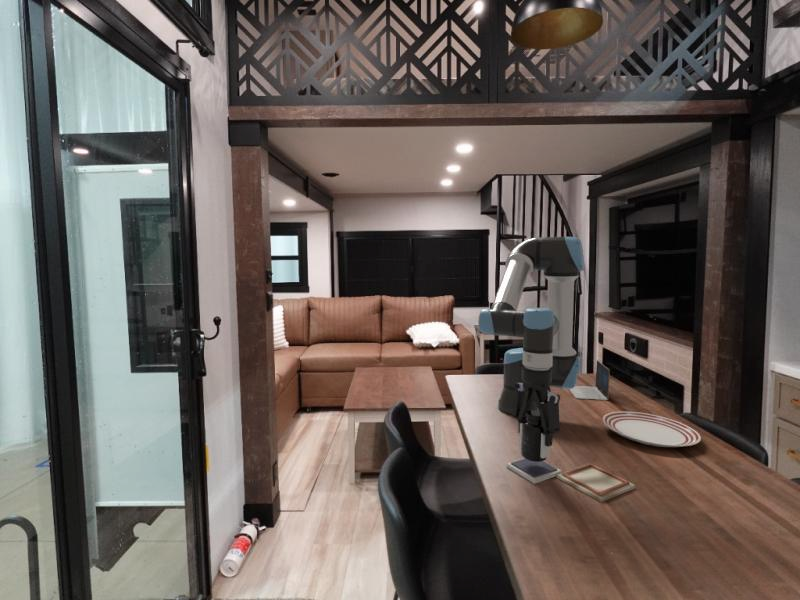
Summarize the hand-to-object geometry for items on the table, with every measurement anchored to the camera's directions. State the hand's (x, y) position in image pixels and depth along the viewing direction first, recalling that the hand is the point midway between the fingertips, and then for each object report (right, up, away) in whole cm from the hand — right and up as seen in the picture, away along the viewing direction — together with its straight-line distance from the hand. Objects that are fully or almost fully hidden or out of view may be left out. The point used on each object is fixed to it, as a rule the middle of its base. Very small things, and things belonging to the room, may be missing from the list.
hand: (534, 451), depth 113 cm
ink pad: (0, -5, +1) cm, 6 cm away
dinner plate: (+45, -4, +24) cm, 51 cm away
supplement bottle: (0, -2, 0) cm, 2 cm away
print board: (+14, -6, -6) cm, 16 cm away
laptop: (+44, 0, +68) cm, 81 cm away
